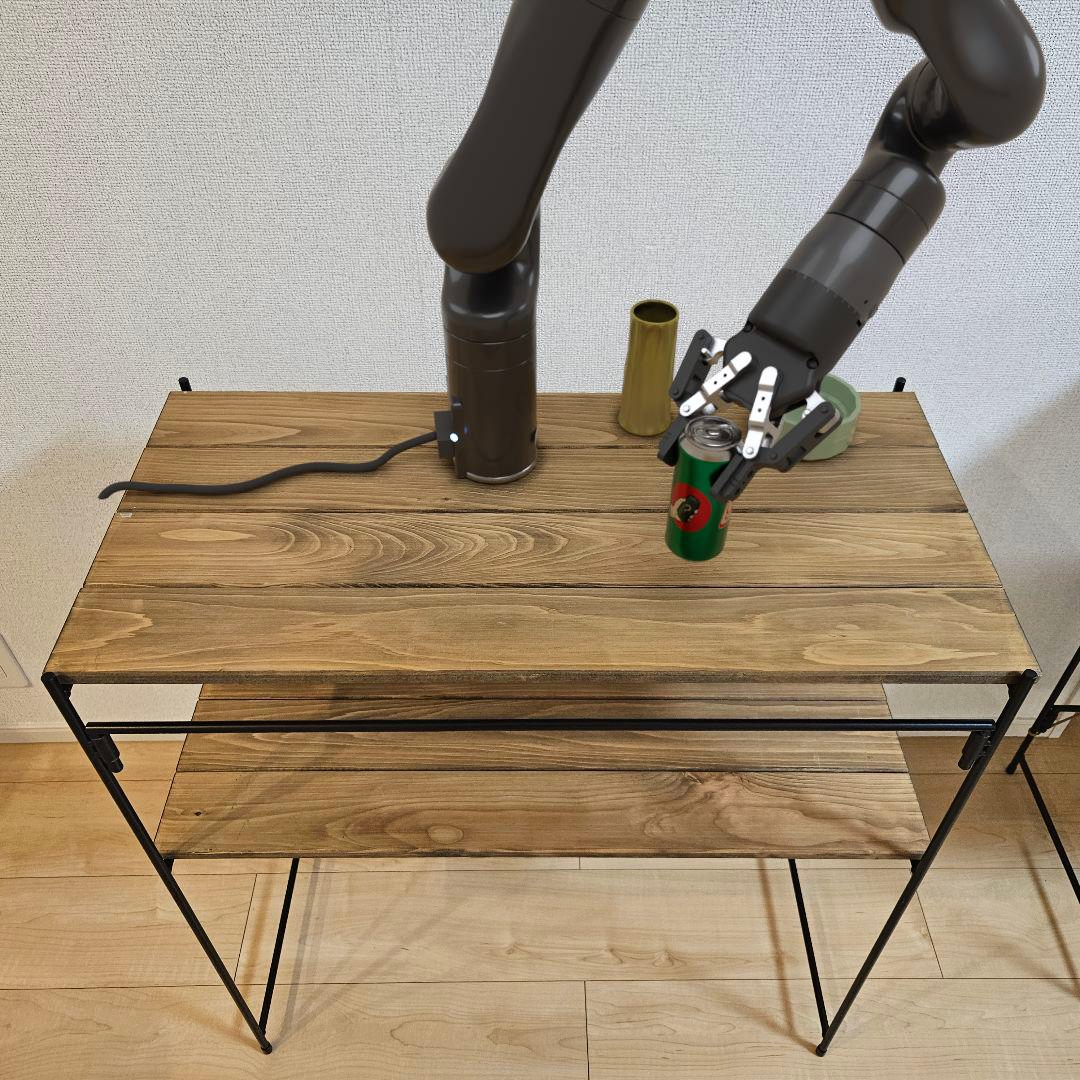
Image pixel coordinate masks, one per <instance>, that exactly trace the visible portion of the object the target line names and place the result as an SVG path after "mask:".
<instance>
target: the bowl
mask: <svg viewBox="0 0 1080 1080" xmlns="http://www.w3.org/2000/svg"><path fill="white" fill-rule="evenodd" d="M819 395H820V396H821V397H822V398H823V399H824V400H825V401H827V402H830V403H831V404H832V405H833V406H834V407H835V408H836V409H837V410H838V411H839V413H840V414H841V415H842V418H843V420H842V423H841V425H840V426H839V427H837V428H836V429H835V430H834V431H833V432H832V433H831V434H830V435H828V436H827V437H826V438H825V439H824V440H823V441H822V442H821V443H820V444H818V445H817V446H816V447H815V448H814V449H813V450H812V451H811V452H810V453H808V454H807V455H806V456H805V457H804V458H803V459H802V460H804V461H817V460H825V459H826V460H827V459H830V458H832V457H835V456H837V455H839V454H841V453H843V452H844V451H846V450H847V448H848V447H849V446H850V445H851V443H852V442H853V440H854V436H855V433H856V429H857V426H858V422H859V419H860V416H861V414H862V413H861V412H862V397H861V395H860V394H859V393H858V392H857V390H856V389H855V388H854V386H853V385H852V384H850V383H849V382H847V381H846V380H844V379H842V378H840V376H837V375H835V374H832V373H830V372H829V373H828V374H827V375H826V376H825V377H824V379H823V381H822V384H821V389H820V393H819ZM806 407H807V405H805V406H803V407H800V408H798V409H796V410H793V411H791V412H789V413H787V414H786V417H785V420H784V424H783V427H782V430H781V433H780V436H779V438H778V440H776V441H775V443H774V445H775V444H776V443H777V442H778V441H779V440H780V439H781V438H783V437H784V436H785V435H786V434H787V433H788V432H789V431H790V430H791V429H792V428H794V427H795V426H796V425H797V424H798V423H799V422H800V421H801V420H802V414H803V412H804V410H805V409H806ZM750 414H751V412H750V411H749V413H748V421H747V423H748V422H749V418H750ZM747 429H749V425H748V424H747Z"/></svg>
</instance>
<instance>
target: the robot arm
mask: <svg viewBox="0 0 1080 1080" xmlns="http://www.w3.org/2000/svg"><path fill="white" fill-rule="evenodd" d="M650 2H651V0H512V3H511V6H510V8H509V12H508V14H507V19H506V21H505V24H504V27H503V30H502V33H501V36H500V41H499V44H498V47H497V49H496V53H495V57H494V60H493V63H492V68H491V69H490V70H491V71H490V74H489V76H488V77H489V78H488V81H487V83H486V86H485V90H484V92H483V95H482V97H481V99H480V102H479V105H478V107H477V109H476V111H475V113H474V116H473V118H472V119H471V121H470V124H469V126H468V128H467V130H466V131H465V133H464V135H463V137H462V139H461V141H460V143H458V146H457V148H456V149H455V150H454V151H453V152H452V153H451V154H450V156H449V157H448V158H447V160H446V161H445V163H444V165H443V166H442V169H441V170H440V172H439V174H438V176H437V178H436V180H435V182H434V184H433V185H432V187H431V189H430V192H429V194H428V198H427V201H426V208H425V219H426V221H425V222H426V231H427V234H428V238H429V241H430V243H431V246H432V248H433V250H434V252H435V253H436V254H437V256H438V257H439V258H440V259H441V261H442V262H443V263H444V268H443V271H444V272H443V280H442V286H441V294H440V308H441V309H440V310H441V321H442V331H443V332H442V333H443V342H444V344H443V345H444V357H445V367H446V375H445V382H446V383H445V384H446V393H447V394H446V396H447V407H448V409H447V410H437V411H433V421H434V430H433V431H431V432H427V433H425V434H422V435H418V436H415V437H413V438H410V439H407V440H404V441H402V442H400V443H397V444H396V445H393V446H392V447H390V448H389V449H387V450H386V451H385V452H384V453H383V454H382V455H381V456H379V457H377V458H375V459H374V460H371V461H366V462H361V463H342V462H329V461H313V462H305V463H299V464H295V465H290V466H287V467H284V468H283V467H282V468H281V469H277V470H274V471H272V472H270V473H267V474H265V475H261V476H259V477H255V478H252V479H249V480H246V481H245V480H244V481H240V482H236V483H229V484H211V485H210V484H191V483H190V484H189V483H157V482H156V483H154V482H144V481H136V480H135V481H133V480H132V481H131V480H124V481H117V482H113V483H112V484H109V485H107V486H106V487H105V488H104V489H102V490H101V491H100V493H99V494H98V496H97V499H98V500H107V499H108V498H111V496H112V495H114V494H115V493H118V492H123V491H136V492H146V493H157V494H158V493H159V494H160V493H161V494H162V493H165V494H166V493H167V494H169V493H171V494H172V493H177V494H196V495H225V494H226V495H227V494H235V493H241V492H245V491H249V490H253V489H256V488H257V489H258V488H260V487H262V486H265V485H268V484H270V483H273V482H276V481H279V480H281V479H284V478H288V477H290V476H294V475H298V474H303V473H309V472H336V473H337V472H338V473H364V472H365V473H366V472H371V471H373V470H377V469H379V468H381V467H383V466H384V465H386V464H387V463H388V462H389V461H391V460H392V459H393V458H394V457H395V456H397V455H399V454H401V453H403V452H407V451H409V450H410V449H414V448H417V447H419V446H421V445H426V444H429V443H431V442H434V441H436V445H437V452H438V459H439V460H442V459H450V458H452V461H453V462H452V463H453V465H454V470H455V476H456V478H457V479H468V480H469V479H470V480H472V481H474V482H478V483H484V484H491V485H492V484H493V485H494V484H495V485H496V484H505V483H509V482H515V481H516V480H519V479H521V478H523V477H524V476H526V475H528V474H529V473H530V472H532V470H534V468H535V466H536V465H537V462H538V460H539V459H538V458H539V451H538V435H539V431H540V420H538V390H537V389H538V385H537V384H538V381H537V380H538V378H537V377H538V373H537V372H538V365H537V363H538V361H537V360H538V358H537V357H538V355H537V353H538V352H537V351H538V350H537V349H538V348H537V347H538V346H537V345H538V344H537V343H538V342H537V341H538V340H537V339H538V336H537V335H538V334H537V333H538V332H537V329H538V327H537V326H538V325H537V323H538V322H537V321H538V318H537V315H538V313H537V312H538V294H539V286H540V275H541V229H542V228H541V227H542V226H541V225H542V224H541V223H542V221H541V220H542V216H541V215H542V214H541V213H542V207H541V206H542V204H541V203H542V202H541V200H542V198H543V196H544V193H545V191H546V188H547V186H548V183H549V181H550V178H551V176H552V173H553V171H554V168H555V166H556V164H557V163H558V159H559V158H560V155H561V153H562V151H563V149H564V147H565V145H566V144H567V141H568V139H569V138H570V136H571V134H572V133H573V131H574V130H575V128H576V126H577V125H578V124H579V122H580V120H581V119H582V118H583V116H584V114H585V112H586V111H587V110H588V108H589V106H590V105H591V103H592V102H593V100H594V99H595V97H596V95H597V94H598V93H599V91H600V89H601V88H602V86H603V85H604V83H605V81H606V79H607V78H608V77H609V75H610V73H611V71H612V70H613V68H614V66H615V65H616V63H617V61H618V60H619V58H620V56H621V55H622V53H623V51H624V49H625V48H626V45H627V43H628V42H629V40H630V39H631V36H632V35H633V33H634V31H635V29H637V26H638V25H639V23H640V21H641V20H642V17H643V16H644V13H645V11H646V10H647V8H648V6H649V4H650ZM869 3H870V5H871V7H872V11H873V12H874V14H875V16H876V18H877V20H878V22H879V24H880V25H881V26H882V27H883V28H884V29H885V30H886V31H887V32H889V33H892V34H897V35H904V36H907V37H910V38H911V39H913V40H914V41H915V42H916V43H917V44H918V46H919V48H920V49H921V51H922V53H923V54H924V56H925V57H923V58H922V59H921V60H919V61H918V62H917V63H916V64H915V65H914V66H913V67H912V68H911V69H910V70H909V71H908V73H907V74H906V75H905V76H904V77H903V79H902V80H901V81H900V82H899V83H898V85H897V86H896V88H895V89H894V91H893V92H892V93H891V95H890V97H889V99H888V101H887V102H886V104H885V106H884V108H883V110H882V112H881V114H880V116H879V118H878V121H877V123H876V125H875V127H874V130H873V132H872V134H871V136H870V138H869V140H868V142H867V145H866V147H865V150H864V152H863V155H862V158H861V161H860V162H859V165H858V167H857V168H856V170H855V171H854V172H853V173H852V174H851V176H850V177H849V178H848V179H847V181H846V182H845V184H844V185H843V186H842V187H841V190H839V192H838V193H837V195H836V196H835V198H834V199H833V200H832V202H831V203H830V205H829V206H828V208H827V209H826V210H825V212H824V213H823V214H822V216H821V217H820V218H819V220H818V221H817V223H815V225H813V227H812V228H811V229H810V230H809V231H808V232H807V233H806V234H805V235H804V236H803V237H802V239H801V240H800V242H799V243H798V244H797V245H796V247H795V248H794V250H793V251H792V252H791V254H790V256H789V257H788V258H787V260H786V261H785V262H784V264H783V265H782V266H781V268H780V269H779V271H778V272H777V273H776V275H775V277H774V278H773V280H772V281H771V282H770V283H769V285H768V286H767V288H766V289H765V291H764V292H763V293H762V295H761V296H760V298H759V299H758V300H757V302H756V303H755V305H754V306H753V308H752V309H751V310H750V311H749V314H748V316H747V318H746V321H745V324H744V325H743V327H742V328H741V330H740V331H738V332H737V333H736V334H734V335H731V337H729V338H728V339H724V338H721V337H718V336H713V335H712V334H711V333H710V332H708V330H707V329H705V328H701V329H698V330H697V331H696V332H695V333H694V334H693V337H692V339H691V341H690V342H689V343H690V344H689V346H688V347H687V350H686V353H685V355H684V356H683V359H682V361H681V364H680V365H679V368H678V370H677V372H676V374H675V375H674V377H673V383H672V385H671V387H670V389H669V396H670V397H671V398H672V399H671V400H673V402H674V404H675V405H676V407H677V409H678V413H677V414H678V415H677V416H676V418H675V419H674V421H672V423H671V425H669V427H668V428H667V430H666V431H665V433H664V435H663V436H662V438H661V439H660V440H659V442H658V445H657V450H658V452H657V454H656V458H657V459H658V460H659V461H661V462H663V464H666V465H667V466H668V467H671V468H674V467H675V460H676V453H677V446H678V439H679V436H680V434H681V433H682V432H683V431H684V430H685V427H686V425H687V423H688V422H689V421H691V420H692V419H694V418H697V417H700V416H709V415H711V416H717V414H719V413H722V412H723V413H724V412H727V411H728V410H729V409H731V408H732V407H733V406H735V405H737V406H738V407H739V408H743V409H746V410H748V411H749V413H750V412H751V414H750V418H749V417H748V420H749V422H748V421H747V426H748V425H749V428H748V430H747V434H746V438H745V440H744V447H743V450H742V454H741V456H739V455H738V454H736V455H735V456H734V458H733V459H732V460H731V462H730V463H729V464H728V466H727V467H726V469H725V470H724V471H723V473H722V474H721V475H720V477H719V478H718V479H717V481H716V482H715V484H714V485H713V486H712V488H711V489H710V491H709V496H710V497H712V498H713V499H715V500H716V501H717V502H719V503H721V504H722V505H724V504H726V503H727V502H728V501H729V500H730V501H732V502H733V501H735V500H737V499H739V498H740V496H741V494H743V492H744V491H745V489H746V487H748V485H749V484H750V483H751V481H752V480H753V479H754V477H755V476H756V475H757V473H758V472H759V471H760V470H762V469H770V470H775V471H778V472H779V473H782V474H785V473H788V472H789V471H791V470H792V469H793V468H794V467H795V466H797V464H799V463H800V462H801V461H802V460H804V459H803V458H804V457H805V456H806V455H807V454H808V453H810V452H811V451H812V450H813V449H814V448H815V447H816V446H817V445H818V444H820V443H821V442H822V441H823V440H824V439H825V438H826V437H827V436H828V435H830V434H831V433H832V432H833V431H834V430H835V429H836V428H837V427H839V426H840V425H841V423H842V420H843V418H842V415H841V414H840V413H839V411H838V410H837V409H836V408H835V407H834V406H833V405H832V404H831V403H830V402H827V401H825V400H824V399H823V398H822V397H821V396H820V395H819V393H820V389H821V384H822V381H823V379H824V377H825V376H826V375H827V374H828V373H829V374H830V373H831V372H832V371H833V369H834V368H835V367H836V366H837V364H838V363H839V362H840V360H841V359H842V357H843V356H844V354H845V353H846V352H847V351H848V349H849V348H850V346H851V344H853V342H854V341H855V340H856V338H857V337H858V335H859V334H860V333H861V332H862V330H863V329H864V327H865V326H866V325H867V323H868V322H869V321H870V320H871V319H872V318H874V316H875V314H876V313H877V312H878V310H879V307H880V305H881V304H882V303H883V301H884V300H885V299H886V297H887V295H888V294H889V292H890V291H891V289H892V287H893V285H894V284H895V282H896V280H897V278H898V276H899V275H900V273H901V272H902V270H903V268H904V267H905V266H906V265H907V264H908V262H909V261H910V259H911V258H912V256H913V255H914V254H915V252H916V251H917V249H918V248H919V247H920V246H921V244H922V243H923V242H924V240H925V239H926V237H927V236H928V235H929V233H930V232H931V230H932V229H933V228H934V226H935V225H936V223H937V221H938V220H939V218H940V216H942V214H943V211H944V209H945V205H946V203H947V191H946V189H945V186H944V183H943V182H942V180H941V178H940V176H941V175H942V173H943V171H944V169H945V168H946V165H947V164H948V163H949V162H950V160H951V159H952V158H953V156H954V155H955V154H956V153H957V152H960V151H968V150H977V149H987V148H993V147H997V146H998V147H999V146H1001V145H1004V144H1006V143H1009V142H1012V141H1014V140H1015V139H1017V138H1018V137H1020V136H1021V135H1023V134H1024V133H1025V132H1026V131H1027V130H1028V129H1029V128H1030V127H1031V125H1032V124H1033V123H1034V122H1035V120H1036V118H1037V117H1038V115H1039V114H1040V111H1041V109H1042V106H1043V104H1044V100H1045V96H1046V91H1047V90H1046V89H1047V66H1046V60H1045V55H1044V51H1043V47H1042V46H1041V43H1040V41H1039V38H1038V36H1037V35H1036V34H1037V33H1036V32H1035V30H1034V28H1033V27H1032V25H1031V23H1030V22H1029V20H1028V19H1027V17H1026V15H1025V14H1024V13H1023V11H1022V10H1021V8H1020V7H1019V5H1018V4H1017V1H1015V0H869ZM721 358H722V366H721V367H722V368H721V369H720V370H719V371H718V372H716V373H715V374H714V375H712V377H710V378H709V379H708V380H706V379H707V377H708V375H709V373H710V371H711V368H712V366H715V365H717V364H719V362H720V359H721ZM805 405H807V407H806V409H805V410H804V412H803V414H802V420H801V421H800V422H799V423H798V424H797V425H796V426H795V427H794V428H792V429H791V430H790V431H789V432H788V433H787V434H786V435H785V436H784V437H783V438H781V439H780V440H779V441H778V442H777V443H776V444H775V445H774V443H775V441H776V440H778V438H779V436H780V433H781V430H782V427H783V424H784V420H785V417H786V414H787V413H789V412H791V411H793V410H796V409H798V408H800V407H803V406H805ZM733 503H734V502H733Z"/></svg>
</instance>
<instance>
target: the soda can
mask: <svg viewBox="0 0 1080 1080" xmlns="http://www.w3.org/2000/svg"><path fill="white" fill-rule="evenodd" d="M744 444H745V440H744V439H743V433H742V430H741V428H740V426H738V424H736V423H735V422H734V421H733V420H730V419H728V418H726V417H723V416H719V415H714V416H711V415H709V416H700V417H697V418H694V419H692V420H691V421H689V422H688V423H687V425H686V427H685V430H684V431H683V432H682V433H681V434H680V436H679V439H678V446H677V453H676V460H675V466H673V474H672V483H671V488H670V489H671V490H670V494H669V495H670V496H669V501H668V502H669V503H668V510H667V517H666V525H665V532H664V542H665V543H664V544H666V546H667V549H669V551H670V552H672V554H673V555H675V556H676V557H677V558H679V559H681V560H684V561H686V562H691V563H702V562H704V563H705V562H707V561H710V560H713V559H715V558H716V557H718V556H719V555H720V554H721V553H722V552H723V551H724V548H725V545H726V541H727V536H728V531H729V526H730V521H731V517H732V512H733V507H734V501H735V500H734V501H733V502H732V501H730V500H729V501H728V502H727V503H726V504H724V505H722V504H721V503H719V502H717V501H716V500H715V499H713V498H712V497H710V496H709V491H710V489H711V488H712V486H713V485H714V484H715V482H716V481H717V479H718V478H719V477H720V475H721V474H722V473H723V471H724V470H725V469H726V467H727V466H728V464H729V463H730V462H731V460H732V459H733V458H734V456H735V455H736V454H738V455H739V456H741V454H742V450H743V447H744Z"/></svg>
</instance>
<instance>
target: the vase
mask: <svg viewBox="0 0 1080 1080" xmlns="http://www.w3.org/2000/svg"><path fill="white" fill-rule="evenodd" d="M629 315H630V317H629V330H628V339H627V340H628V341H627V351H626V356H625V361H624V366H623V367H624V368H623V376H622V387H621V396H620V397H621V398H620V407H619V408H620V409H619V412H618V416H617V421H618V424H619V426H620V427H621V428H622V429H623V430H625V432H627V433H630V434H632V435H634V436H635V435H636V436H640V437H650V436H651V437H652V436H656V435H660V434H662V433H663V432H666V431H667V430H668V429H669V428H670V426H671V425H670V424H671V421H672V420H671V414H672V413H671V412H672V400H673V399H672V398H671V397H670V396H669V389H670V387H671V385H672V383H673V381H674V377H675V362H676V351H677V340H678V331H679V321H680V311H679V308H678V307H677V306H676V305H675V304H673V303H671V302H669V301H667V300H663V299H657V298H656V299H655V298H651V299H649V298H648V299H644V300H640V301H638V302H636V303H635V304H633V305H632V306H631V308H630V310H629Z"/></svg>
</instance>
